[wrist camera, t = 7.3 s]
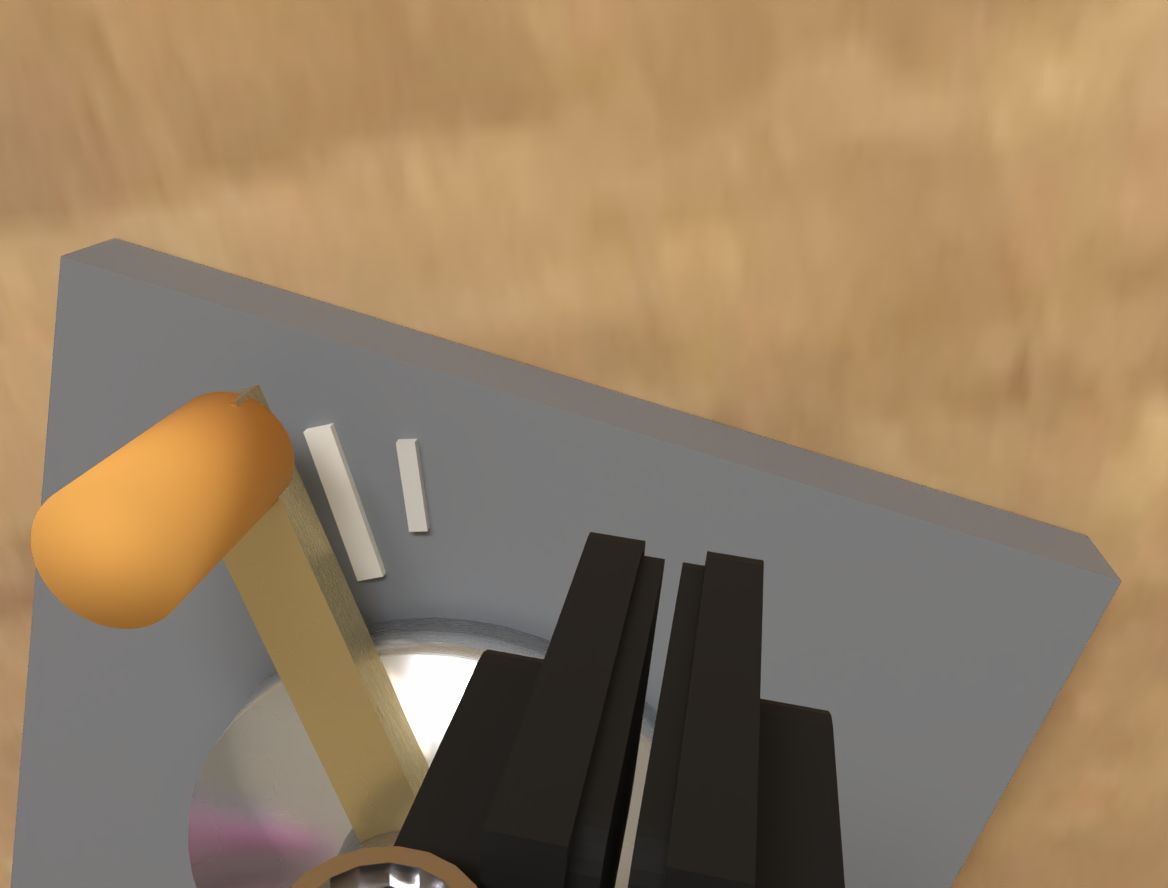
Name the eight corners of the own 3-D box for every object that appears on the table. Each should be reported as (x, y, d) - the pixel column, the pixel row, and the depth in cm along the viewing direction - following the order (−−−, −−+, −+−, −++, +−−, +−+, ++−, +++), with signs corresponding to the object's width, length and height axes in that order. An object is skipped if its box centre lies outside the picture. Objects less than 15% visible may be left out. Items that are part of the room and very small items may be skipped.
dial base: (1087, 536, 22) (1125, 586, 20) (750, 1167, 31) (753, 1247, 29) (114, 237, 22) (55, 257, 20) (44, 947, 31) (-4, 1011, 29)
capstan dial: (775, 991, 25) (793, 1275, 19) (333, 1050, 28) (232, 1316, 22) (530, 276, 19) (452, 376, 14) (2, 437, 22) (-250, 578, 16)
